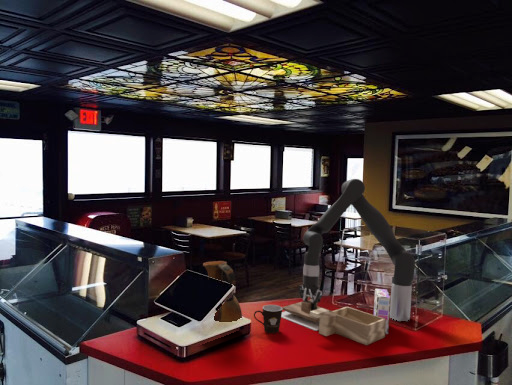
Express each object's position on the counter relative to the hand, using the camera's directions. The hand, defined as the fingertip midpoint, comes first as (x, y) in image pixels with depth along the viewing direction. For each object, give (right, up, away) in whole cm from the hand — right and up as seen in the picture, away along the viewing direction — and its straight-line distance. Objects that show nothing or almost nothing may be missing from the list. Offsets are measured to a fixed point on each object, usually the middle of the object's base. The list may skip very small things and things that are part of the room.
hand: (309, 309), depth 205 cm
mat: (0, -4, 0) cm, 4 cm away
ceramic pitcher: (-41, -4, -20) cm, 46 cm away
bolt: (+2, +4, -22) cm, 23 cm away
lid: (0, -2, 0) cm, 2 cm away
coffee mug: (-20, -5, -17) cm, 26 cm away
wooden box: (+16, -6, -19) cm, 25 cm away
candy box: (+31, -6, -9) cm, 33 cm away
